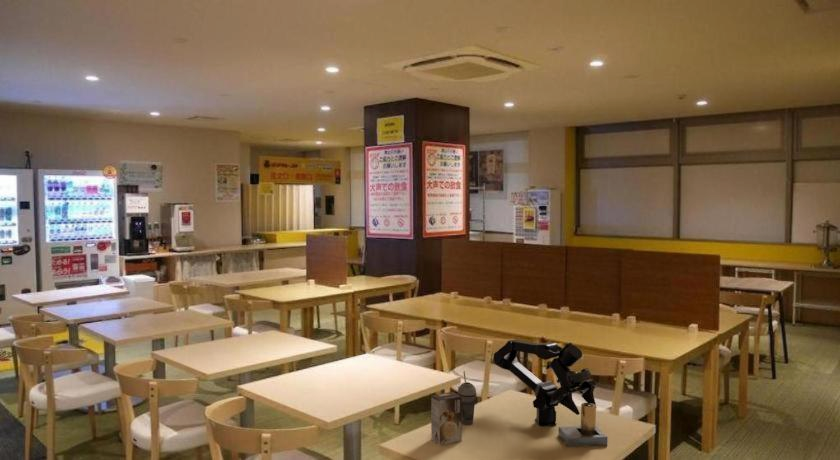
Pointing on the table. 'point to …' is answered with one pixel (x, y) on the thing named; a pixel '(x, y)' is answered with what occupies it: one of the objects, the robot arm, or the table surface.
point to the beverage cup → (467, 401)
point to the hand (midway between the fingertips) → (587, 411)
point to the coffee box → (446, 418)
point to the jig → (581, 437)
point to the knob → (588, 418)
